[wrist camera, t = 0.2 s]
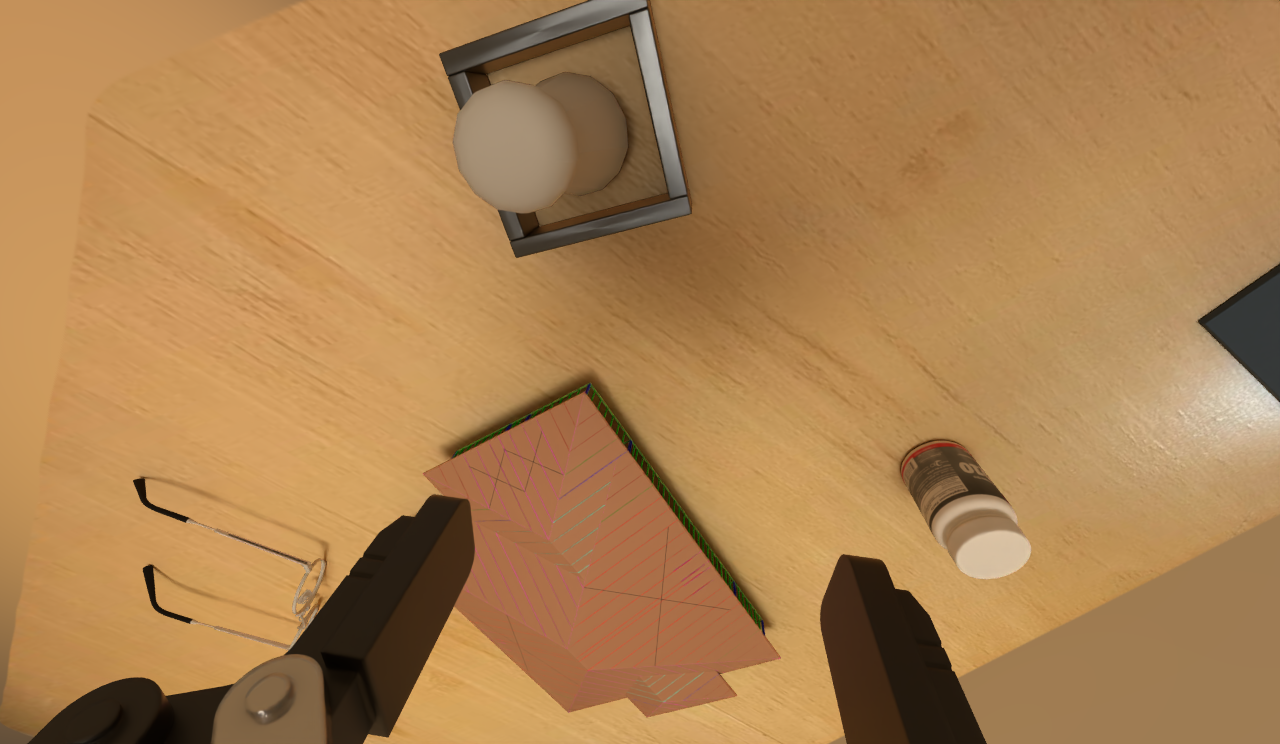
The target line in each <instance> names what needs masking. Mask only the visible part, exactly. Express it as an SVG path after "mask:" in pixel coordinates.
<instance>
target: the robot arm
mask: <svg viewBox="0 0 1280 744" xmlns="http://www.w3.org/2000/svg"><path fill="white" fill-rule="evenodd" d="M474 555H475V543H474V534H473V525H472V516H471V507H470V502H469V500H468V499H463V498H456V497H449V496H442V495H435V494H434V495H432V496H430V497H429V498H428V499H427V500H426V502H425V503H424V505H423V506H422V507H421V509H420V510H419V512H418V513H417V515H416V516H415V517H410V516H401V517H400V518H399V519H397V520H396V521H394V522H393V523H392V524H390V525H389V526H388V527H386V528H385V529H383V530H382V531H381V532H379V534H378V535H377V536H376V538H375V539H374V540H373V542H372V543H371V544H370V546H369V547H368V548H367V550H366V551H365V552H364V555H363V557H362V558H360V559H359V560H358V561H357V563H356V564H355V565H354V567H353V568H352V569H351V571H350V574H349V576H346V577H345V578H344V580H343V581H342V582H341V584H340V585H339V586H338V588H337V589H336V590H335V592H334V593H333V594H332V596H331V597H330V598H329V599H328V601H327V602H326V603H325V605H324V606H323V607H322V609H321V610H320V611H319V613H318V614H317V615H316V617H315V618H314V619H313V621H312V622H311V623H310V624H309V626H308V627H307V628H306V630H305V631H304V632H303V634H302V635H301V636H300V638H299V639H298V640H297V642H296V643H295V644H294V645H293V646H292V648H291V649H290V650H289V651H288V652H287V653H286V654H285V655H284V656H280V657H277V658H274V659H271V660H269V661H266V662H264V663H262V664H260V665H259V666H257V667H255V668H254V669H252V670H251V671H249V672H248V673H247V674H245V675H244V676H243V677H242V678H241V679H239V680H238V681H237V682H236V683H235V684H231V685H227V686H222V687H216V688H210V689H204V690H199V691H193V692H187V693H181V694H175V695H169V696H165V695H164V693H163V692H162V690H161V689H160V687H159V686H158V685H157V684H156V683H155V682H154V681H152V680H150V679H147V678H127V679H122V680H118V681H114V682H111V683H109V684H106V685H103V686H101V687H99V688H97V689H95V690H93V691H91V692H89V693H87V694H86V695H84V696H82V697H80V698H79V699H77V700H76V701H74V702H73V703H71V704H70V705H69V706H67V707H66V708H65V709H64V710H62V711H61V712H60V713H59V714H58V715H56V716H55V717H54V718H53V719H52V720H51V721H50V722H49V723H48V724H47V725H46V726H45V727H44V728H43V729H42V730H41V731H40V732H39V733H38V734H37V735H36V736H35V737H34V738H33V739H32V740H31V741H30V742H29V743H28V744H363V742H364V740H365V739H366V737H367V735H368V734H371V735H377V736H382V737H389V735H390V733H391V731H392V729H393V727H394V725H395V723H396V721H397V719H398V717H399V715H400V713H401V711H402V709H403V707H404V705H405V703H406V701H407V699H408V697H409V695H410V693H411V691H412V689H413V687H414V685H415V683H416V681H417V679H418V677H419V675H420V673H421V671H422V669H423V667H424V665H425V663H426V661H427V659H428V657H429V655H430V653H431V651H432V649H433V647H434V645H435V643H436V641H437V639H438V637H439V635H440V633H441V631H442V629H443V627H444V625H445V623H446V621H447V619H448V617H449V615H450V613H451V611H452V609H453V607H454V605H455V603H456V601H457V599H458V597H459V595H460V593H461V591H462V589H463V587H464V585H465V583H466V581H467V579H468V577H469V574H470V572H471V569H472V565H473V561H474ZM820 622H821V631H822V636H823V641H824V645H825V649H826V654H827V658H828V663H829V667H830V672H831V676H832V680H833V685H834V689H835V694H836V698H837V702H838V707H839V711H840V716H841V720H842V724H843V729H844V733H845V738H846V742H847V744H987V743H986V741H985V739H984V737H983V734H982V733H981V730H980V728H979V725H978V723H977V721H976V719H975V717H974V714H973V712H972V710H971V708H970V705H969V703H968V701H967V699H966V697H965V694H964V692H963V690H962V688H961V685H960V683H959V681H958V678H957V676H956V674H955V672H954V671H952V669H951V666H952V665H951V663H950V661H949V658H948V656H947V654H946V652H945V649H944V648H942V647H941V640H940V638H939V636H938V634H937V631H936V629H935V627H934V625H933V622H932V620H931V618H930V616H929V614H928V613H927V612H926V611H925V610H924V609H923V607H922V606H921V605H920V604H919V603H918V601H917V600H916V599H915V598H914V597H913V596H912V594H911V593H910V592H909V591H907V590H900V589H895V587H894V585H893V582H892V580H891V577H890V575H889V572H888V570H887V567H886V565H885V564H884V562H883V561H882V560H880V559H873V558H866V557H859V556H852V555H845V554H843V555H841V556H840V558H839V560H838V562H837V565H836V567H835V570H834V572H833V575H832V577H831V580H830V583H829V585H828V588H827V590H826V593H825V595H824V598H823V601H822V605H821V613H820Z"/></svg>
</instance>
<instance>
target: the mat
mask: <svg viewBox="0 0 1280 744" xmlns="http://www.w3.org/2000/svg"><path fill="white" fill-rule="evenodd" d="M1199 323H1200V324H1201V325H1202V326H1203V327H1204V328H1205V329H1206V330H1207V331H1208V332H1209V333H1211V334H1212V335H1213V336H1214V337H1215V338H1216V339H1217V340H1218V341H1219V342H1220V343H1221V344H1222V345H1223V346H1224V347H1225V348H1226V349H1227V350H1228V351H1229V352H1230V353H1231V354H1232V355H1233V356H1234V357H1235V358H1236V359H1237V360H1238V361H1239V362H1240V363H1241V364H1242V365H1243V366H1244V367H1245V368H1246V369H1247V370H1248V371H1249V372H1250V373H1251V374H1252V375H1253V376H1254V377H1255V378H1256V379H1257V380H1258V381H1259V382H1260V383H1261V384H1263V385H1264V386H1265V387H1266V388H1267V389H1268V390H1269V391H1270V392H1271V393H1272V394H1273V395H1274V396H1275V397H1276V398H1277V399H1278V400H1279V401H1280V265H1279V266H1277V267H1276V268H1274V269H1273V270H1272V271H1270V272H1269V273H1267V274H1266V275H1264V276H1263V277H1261V278H1260V279H1258V280H1257V281H1256V282H1254V283H1253V284H1251V285H1250V286H1248V287H1247V288H1245V289H1244V290H1243V291H1241V292H1240V293H1238V294H1237V295H1235V296H1234V297H1232V298H1231V299H1230V300H1228V301H1227V302H1225V303H1224V304H1222V305H1221V306H1219V307H1218V308H1217V309H1215V310H1214V311H1212V312H1211V313H1209V314H1208V315H1206V316H1205V317H1203V318H1202V319H1201V320H1199Z"/></svg>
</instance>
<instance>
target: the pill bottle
mask: <svg viewBox="0 0 1280 744" xmlns="http://www.w3.org/2000/svg"><path fill="white" fill-rule="evenodd" d="M901 475H902V478H903V481H904V483H905V485H906V486H907V488H908V490H909V491H910V493H911V495H912V497H913V499H914V501H915V502H916V504H917V506H918V508H919V510H920V512H921V513H922V515H923V517H924V519H925V521H926V523H927V525H928V526H929V528H930V530H931V532H932V534H933V535H934V537H935V539H936V540H937V542H938V543H939V544H940V545H941V546H942V547H944V548H945V549H947V550H948V553H949V554H950V556H951V557H952V559H953V560H954V562H955V563H956V565H957V567H958V568H959V569H960V570H961V571H962V572H963V573H964V574H966V575H968V576H970V577H973V578H978V579H995V578H1000V577H1003V576H1006V575H1009V574H1011V573H1013V572H1015V571H1017V570H1018V569H1020V568H1021V567H1022V566H1023V565H1024V564H1025V563H1026V562H1027V561H1028V559H1029V557H1030V554H1031V545H1030V543H1029V541H1028V539H1027V538H1026V537H1025V535H1024V534H1023V532H1022V531H1021V529H1020V528H1019V526H1018V525H1017V524H1018V522H1017V516H1016V514H1015V511H1014V510H1013V508H1012V506H1011V505H1010V504H1009V502H1008V501H1007V500H1006V499H1005V497H1004V496H1003V495H1002V494H1001V492H1000V491H999V490H998V489H997V487H996V486H995V485H994V484H993V482H992V481H991V480H990V478H989V477H988V476H987V475H986V473H985V472H984V471H983V470H982V468H981V467H980V466H979V464H978V463H977V462H976V461H975V459H974V458H973V457H972V455H971V454H970V453H969V452H968V451H967V450H966V449H965V448H964V447H963V446H961V445H959V444H957V443H954V442H950V441H933V442H929V443H926V444H923V445H921V446H919V447H917V448H915V449H914V450H912V451H911V452H910V453H909V454H908V455H907V456H906V458H905V459H904V461H903V463H902V467H901Z"/></svg>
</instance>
